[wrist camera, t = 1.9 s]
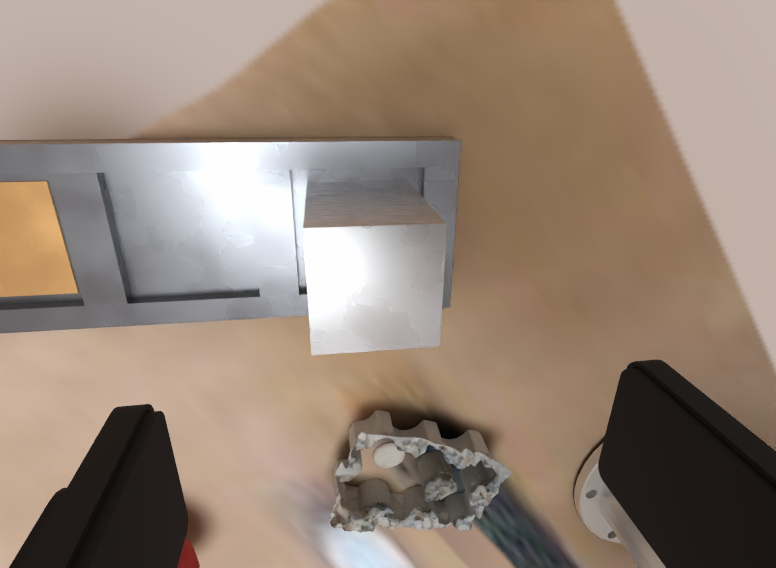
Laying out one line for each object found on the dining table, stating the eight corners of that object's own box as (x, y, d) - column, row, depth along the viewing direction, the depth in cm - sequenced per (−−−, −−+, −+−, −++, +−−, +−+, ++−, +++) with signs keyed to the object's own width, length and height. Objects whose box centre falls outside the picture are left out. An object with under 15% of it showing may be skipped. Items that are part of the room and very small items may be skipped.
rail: (451, 136, 24) (461, 140, 22) (442, 294, 28) (449, 307, 26) (-144, 141, 20) (-181, 146, 19) (-67, 322, 24) (-93, 338, 22)
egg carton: (320, 478, 32) (320, 530, 29) (362, 393, 30) (368, 437, 26) (453, 508, 35) (469, 558, 32) (500, 432, 33) (523, 477, 29)
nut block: (406, 180, 24) (447, 223, 16) (404, 271, 26) (439, 346, 18) (307, 182, 23) (302, 228, 16) (312, 275, 25) (311, 355, 18)
